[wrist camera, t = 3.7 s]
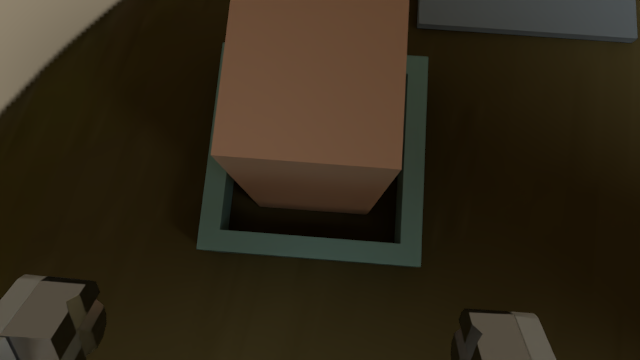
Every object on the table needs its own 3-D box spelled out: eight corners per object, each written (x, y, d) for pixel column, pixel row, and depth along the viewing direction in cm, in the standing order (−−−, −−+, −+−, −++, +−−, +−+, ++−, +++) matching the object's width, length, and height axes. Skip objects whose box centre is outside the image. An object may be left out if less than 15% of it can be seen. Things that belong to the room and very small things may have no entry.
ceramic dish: (420, 73, 26) (433, 47, 23) (412, 267, 24) (425, 266, 21) (230, 59, 26) (218, 32, 23) (206, 251, 24) (190, 247, 21)
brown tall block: (372, 112, 26) (409, -4, 15) (366, 214, 24) (401, 169, 14) (270, 105, 26) (232, -17, 15) (259, 206, 25) (210, 155, 14)
